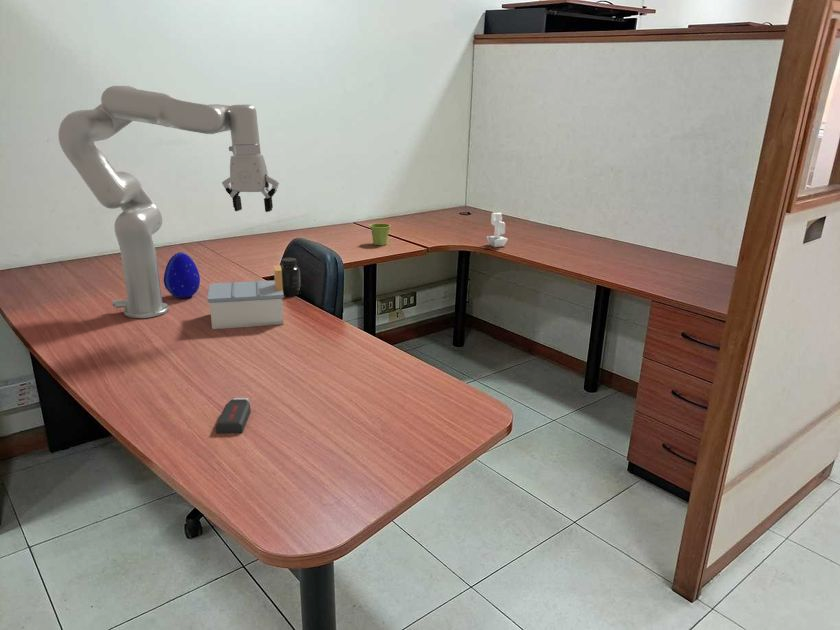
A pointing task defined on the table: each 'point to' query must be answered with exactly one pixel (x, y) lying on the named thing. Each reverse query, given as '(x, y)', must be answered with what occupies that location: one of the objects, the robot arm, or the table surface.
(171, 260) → the ornament
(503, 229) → the figurine
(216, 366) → the table surface
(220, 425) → the usb drive
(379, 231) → the plant pot
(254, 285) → the tub lid
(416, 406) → the table surface
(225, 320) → the box
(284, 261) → the supplement bottle
